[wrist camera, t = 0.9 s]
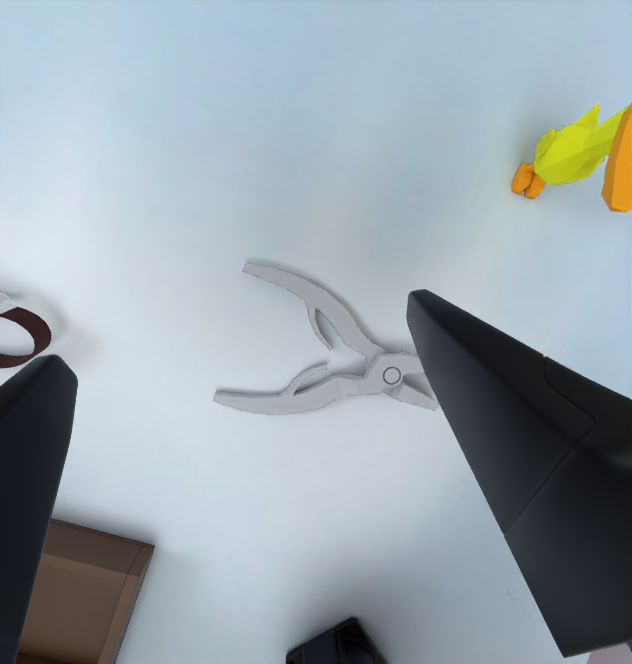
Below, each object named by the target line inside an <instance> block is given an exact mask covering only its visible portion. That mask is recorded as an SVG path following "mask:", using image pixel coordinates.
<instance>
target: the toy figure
mask: <svg viewBox="0 0 632 664" xmlns="http://www.w3.org/2000/svg"><path fill="white" fill-rule="evenodd" d="M598 112H599V103H598V104H597V105H595V106H594V107H593V108H592V109H591V110H589V111H588V112H587V113H586V114H585V115H584V116H582V117H581V118H580V119H579V120H578V121H576V122H575V123H574V124H570V125H568V126H566V127H564V128H562V129H561V130H559V131H557V132H556V129H555V128H553V129H551V130H550V131H548V132H547V133H546V134H544V135H543V136H542V137H541V139H540V140H539V142H538V144H537V146H536V150H535V158H534V163H533V164H528V163H526V162H523V163H522V165H521V166H520V168H519V170H518V171H517V173H516V174H515V176H514V179H513V181H512V192H515V193H517V194H520V193H521V192H522V191H523V190H524V189H525V197H527V198H530V199H534V198H535V197H536V196H537V195H538V194H539V193H540V192H541V191H542V190H543V188H544V183H545V182H546V183H548V184H549V185H557V184H568V183H571V182H574V181H577V180H580V179H583V178H586V177H589V176H590V175H591V173H592V172H593V171H594V170H595V169H596V168H597V166H598V165H599V164H600V163H602V162H603V161H604V160H605V159H604V157H605V156H606V155H609V158H608V161H607V165H606V169H605V179H604V185H603V189H602V193H601V195H602V197H603V198H604V200H605V202H606V204H607V205H608V207H609V209H610V211H615V212H627V211H629V210H630V209H631V208H632V104H630V105H629V106H627V107H626V108H624V109H623V110H621V111H620V112H618V113H617V114H615V115H614V116H612V117H611V118H609V119H607V120H606V121H604V122H603V123H601V124H600V125H598V126H597V121H598ZM544 181H545V182H544Z"/></svg>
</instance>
